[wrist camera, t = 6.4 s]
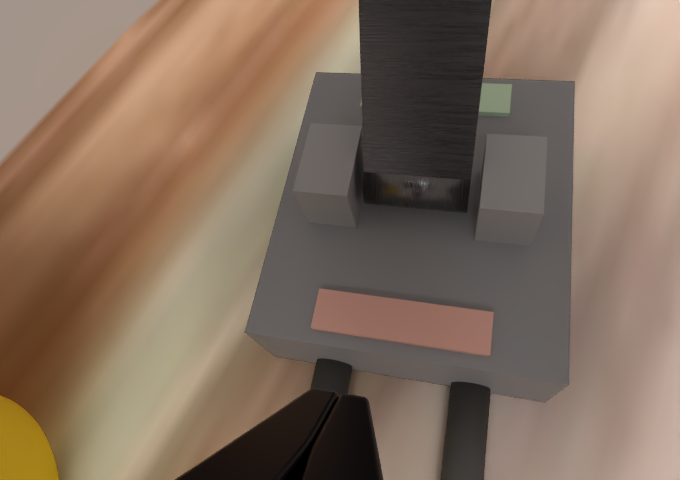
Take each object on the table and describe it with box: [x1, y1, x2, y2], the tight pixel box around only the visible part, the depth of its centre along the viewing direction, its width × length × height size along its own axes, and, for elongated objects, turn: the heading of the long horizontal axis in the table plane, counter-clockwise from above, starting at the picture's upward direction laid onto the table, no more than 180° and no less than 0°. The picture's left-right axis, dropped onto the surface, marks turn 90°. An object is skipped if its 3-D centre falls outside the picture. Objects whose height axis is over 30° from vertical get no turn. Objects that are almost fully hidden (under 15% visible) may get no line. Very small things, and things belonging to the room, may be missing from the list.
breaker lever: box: [359, 0, 492, 213], centre depth 12 cm, size 2×4×11 cm, turn 80°
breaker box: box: [245, 72, 575, 402], centre depth 17 cm, size 10×9×5 cm
